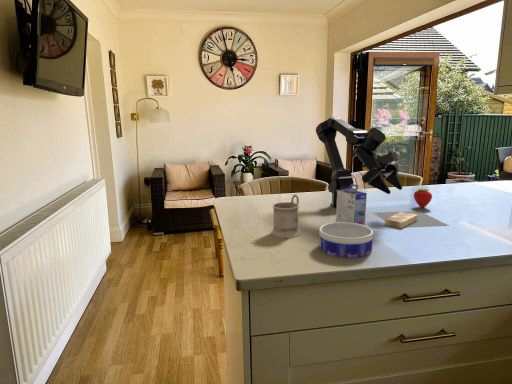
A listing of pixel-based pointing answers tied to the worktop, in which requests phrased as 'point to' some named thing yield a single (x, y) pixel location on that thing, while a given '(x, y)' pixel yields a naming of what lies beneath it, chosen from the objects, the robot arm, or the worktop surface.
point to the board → (401, 219)
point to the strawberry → (422, 197)
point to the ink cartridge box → (351, 205)
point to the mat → (422, 221)
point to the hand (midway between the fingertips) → (395, 191)
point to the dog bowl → (345, 239)
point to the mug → (286, 219)
